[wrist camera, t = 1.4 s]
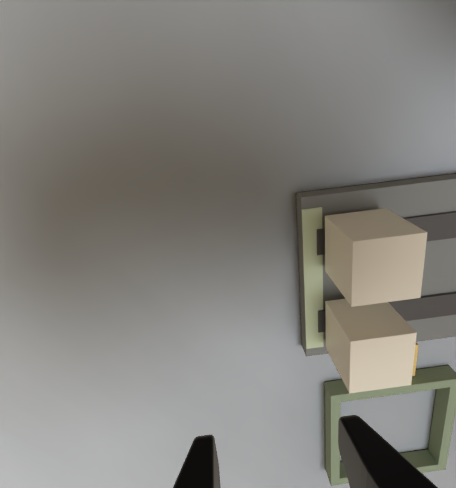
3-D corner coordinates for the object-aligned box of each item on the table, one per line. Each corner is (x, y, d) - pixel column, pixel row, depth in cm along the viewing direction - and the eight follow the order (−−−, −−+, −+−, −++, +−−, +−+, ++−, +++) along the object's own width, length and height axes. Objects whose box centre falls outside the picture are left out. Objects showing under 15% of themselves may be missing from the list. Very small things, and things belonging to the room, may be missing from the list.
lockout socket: (453, 333, 22) (466, 345, 21) (435, 453, 26) (445, 469, 25) (324, 350, 22) (330, 363, 21) (325, 469, 26) (330, 485, 25)
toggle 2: (380, 293, 19) (416, 332, 16) (377, 339, 20) (411, 385, 17) (325, 301, 19) (350, 341, 16) (325, 346, 20) (349, 393, 17)
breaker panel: (504, 167, 19) (523, 171, 18) (477, 322, 22) (491, 333, 21) (296, 193, 18) (302, 198, 17) (301, 345, 22) (307, 358, 21)
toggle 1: (385, 208, 17) (427, 232, 14) (382, 263, 19) (420, 297, 15) (324, 215, 17) (353, 241, 14) (325, 270, 19) (351, 306, 15)
